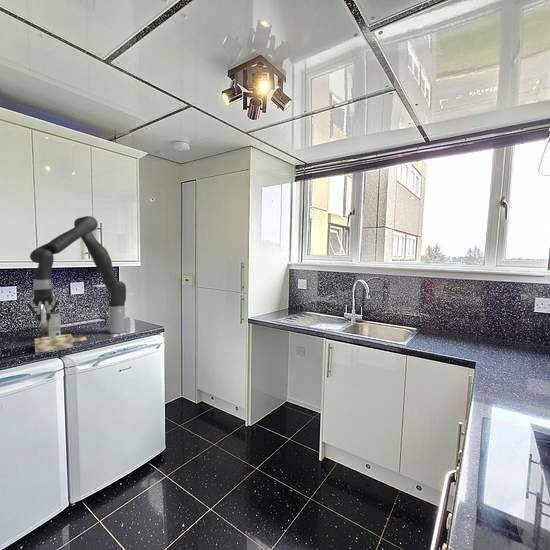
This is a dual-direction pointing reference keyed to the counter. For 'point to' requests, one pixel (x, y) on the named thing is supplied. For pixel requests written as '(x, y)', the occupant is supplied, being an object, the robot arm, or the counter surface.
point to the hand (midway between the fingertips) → (43, 320)
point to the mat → (79, 339)
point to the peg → (43, 316)
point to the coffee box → (52, 326)
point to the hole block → (53, 343)
